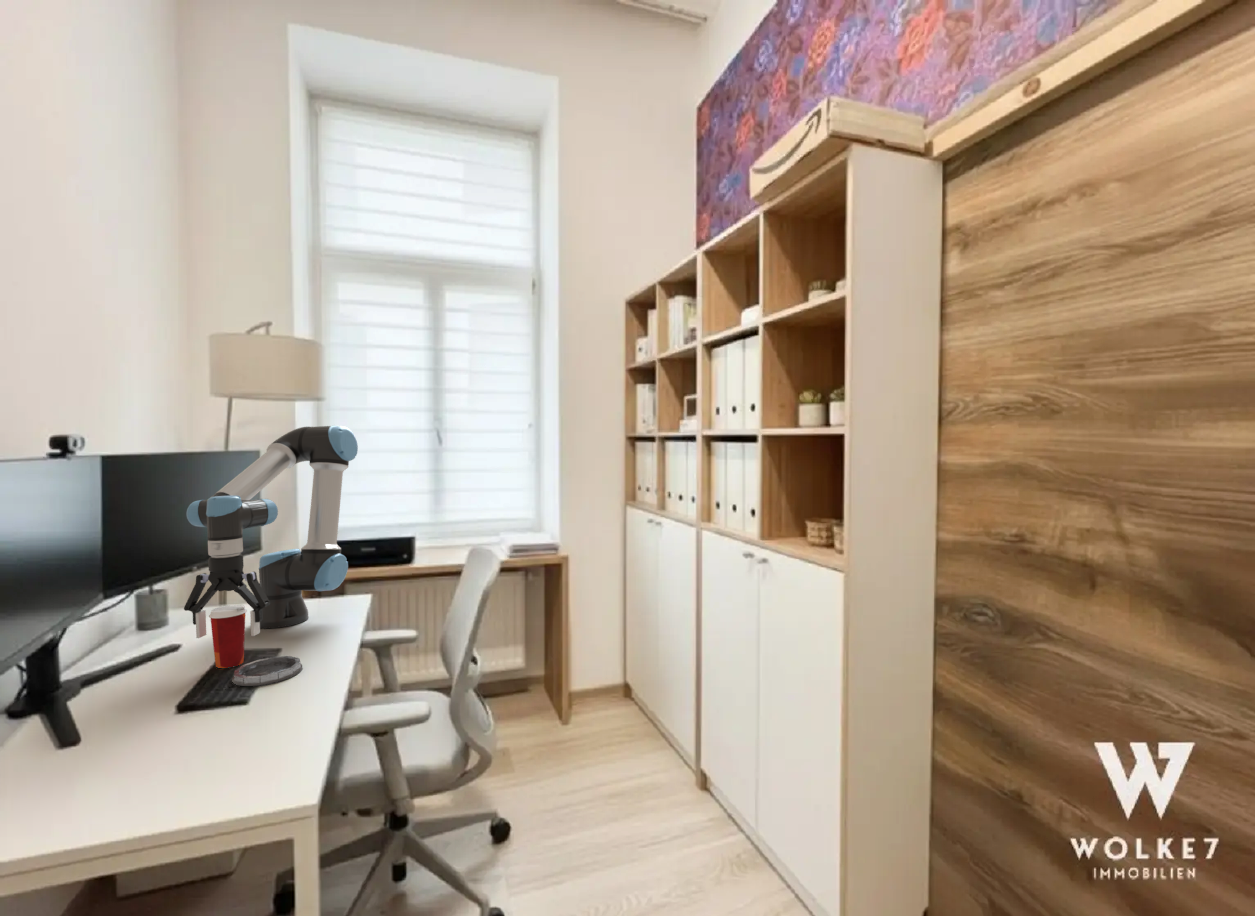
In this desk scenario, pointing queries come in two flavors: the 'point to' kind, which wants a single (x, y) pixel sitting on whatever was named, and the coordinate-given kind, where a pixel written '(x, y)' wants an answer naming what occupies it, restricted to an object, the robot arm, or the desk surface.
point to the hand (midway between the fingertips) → (228, 635)
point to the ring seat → (267, 671)
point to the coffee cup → (228, 635)
